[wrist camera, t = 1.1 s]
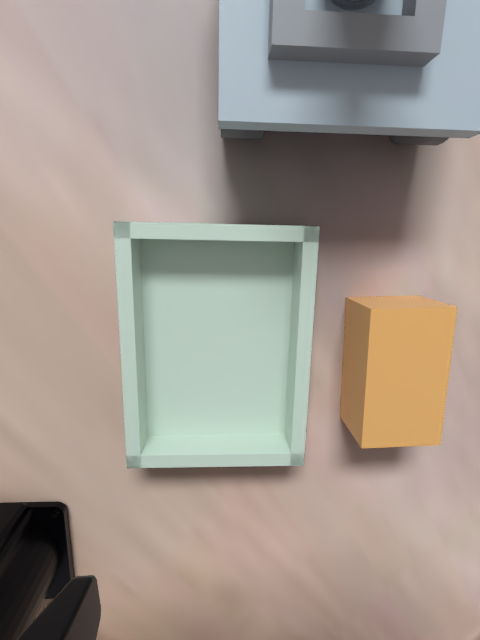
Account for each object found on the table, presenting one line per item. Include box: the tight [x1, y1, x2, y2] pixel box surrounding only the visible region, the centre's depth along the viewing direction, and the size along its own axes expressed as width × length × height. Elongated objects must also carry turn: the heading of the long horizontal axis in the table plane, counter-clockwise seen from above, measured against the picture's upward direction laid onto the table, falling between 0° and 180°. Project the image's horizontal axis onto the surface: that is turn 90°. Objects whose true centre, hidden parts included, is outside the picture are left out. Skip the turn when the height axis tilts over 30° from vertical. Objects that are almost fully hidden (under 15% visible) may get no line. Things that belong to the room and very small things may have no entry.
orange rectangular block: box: [340, 296, 457, 449], centre depth 19 cm, size 7×4×4 cm, turn 1°
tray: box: [113, 221, 320, 468], centre depth 18 cm, size 12×9×2 cm
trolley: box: [218, 0, 480, 145], centre depth 14 cm, size 9×10×6 cm
